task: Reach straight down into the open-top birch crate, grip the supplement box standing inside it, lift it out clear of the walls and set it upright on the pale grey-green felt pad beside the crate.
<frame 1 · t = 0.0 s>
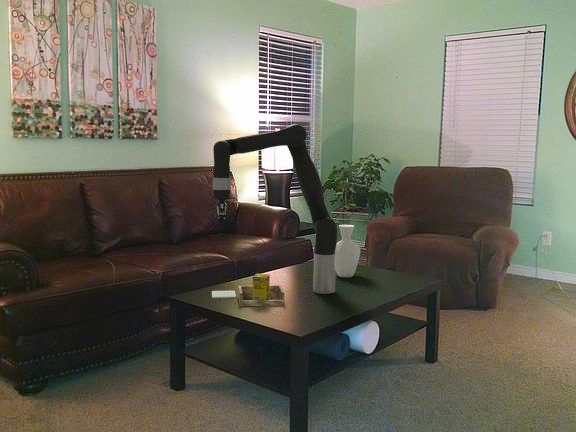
hand: (221, 226, 242), 29 cm above the table, fingers open, 8 cm apart
vase: (345, 275, 284), on the table
crate: (260, 301, 235), on the table
pad: (223, 295, 243), on the table
supplement box: (260, 301, 235), resting in crate
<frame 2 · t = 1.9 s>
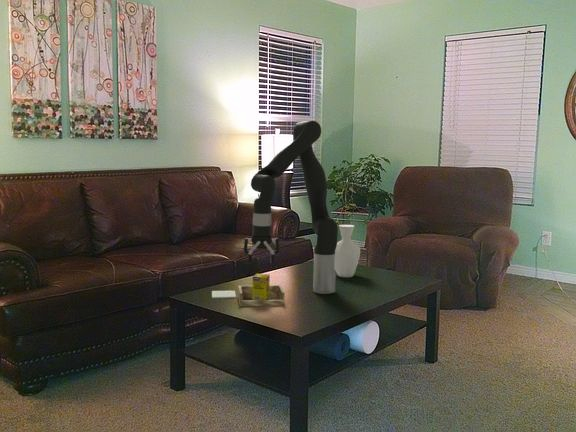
hand: (260, 263, 233), 16 cm above the table, fingers open, 8 cm apart
nothing on the table moved.
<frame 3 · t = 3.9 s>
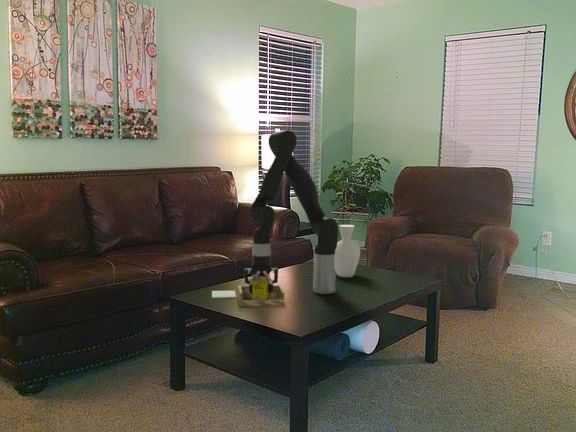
hand: (260, 293, 234), 3 cm above the table, fingers closed on supplement box, 7 cm apart
supplement box: (260, 301, 235), resting in crate, touching gripper
everything else where it was.
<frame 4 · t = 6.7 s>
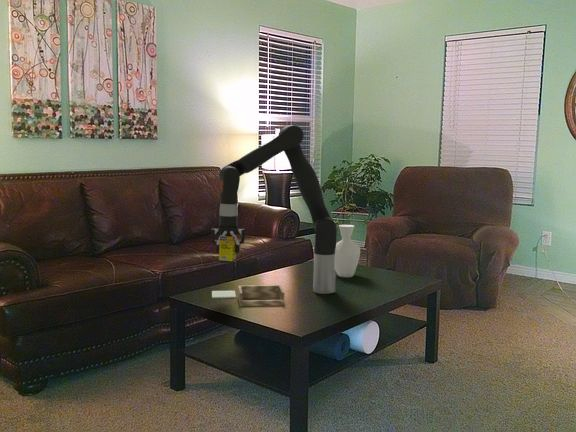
hand: (227, 253, 239), 18 cm above the table, fingers closed on supplement box, 7 cm apart
supplement box: (227, 261, 239), point 15 cm above the table, touching gripper
everything else where it was.
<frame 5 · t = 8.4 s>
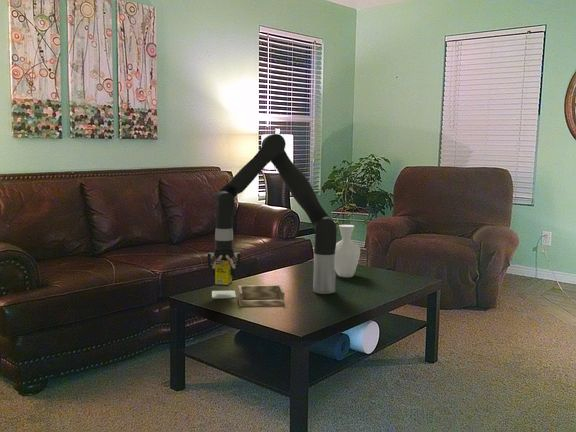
hand: (223, 276, 242), 8 cm above the table, fingers closed on supplement box, 7 cm apart
supplement box: (223, 285, 242), point 4 cm above the table, touching gripper
everything else where it was.
when the fingers open (5 cm above the table, at t = 9.9 s): supplement box drops 1 cm, resting on pad.
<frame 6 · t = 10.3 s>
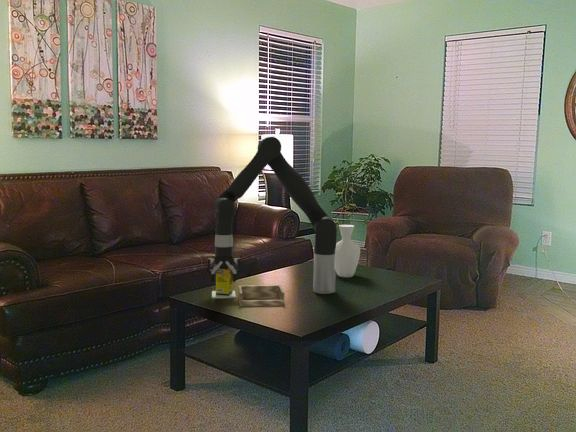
hand: (223, 282, 242), 6 cm above the table, fingers open, 8 cm apart
supplement box: (224, 294, 243), resting on pad
everything else where it was.
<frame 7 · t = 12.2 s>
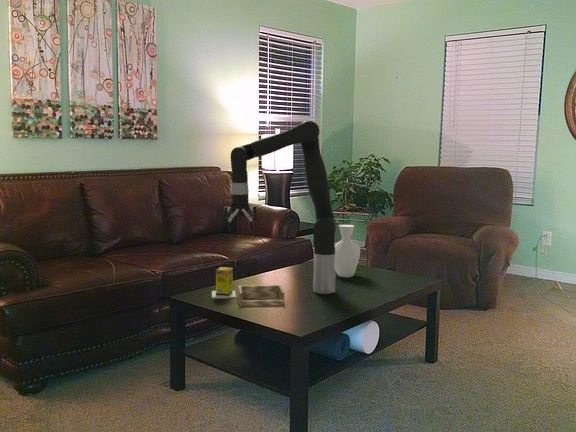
hand: (240, 229, 249), 27 cm above the table, fingers open, 8 cm apart
nothing on the table moved.
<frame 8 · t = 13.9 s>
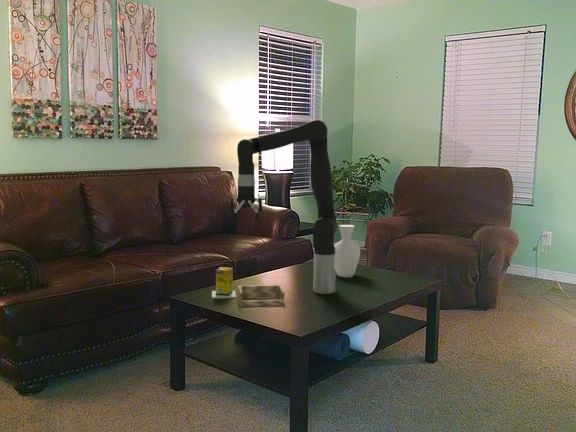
hand: (245, 221, 253), 30 cm above the table, fingers open, 8 cm apart
nothing on the table moved.
at the end: supplement box inside the target area on the pad (0.2 cm from its centre), point 0.4 cm above the pad's base; supplement box tilted 0°; the gripper is holding nothing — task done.
